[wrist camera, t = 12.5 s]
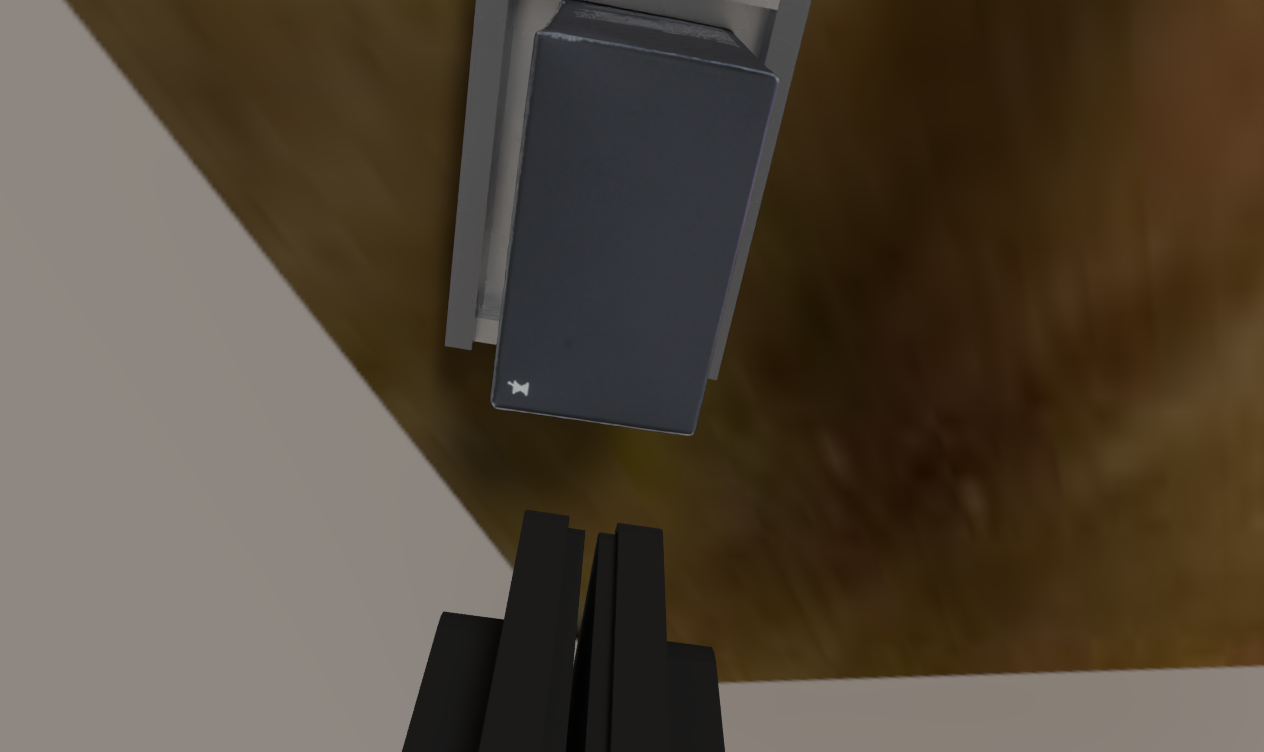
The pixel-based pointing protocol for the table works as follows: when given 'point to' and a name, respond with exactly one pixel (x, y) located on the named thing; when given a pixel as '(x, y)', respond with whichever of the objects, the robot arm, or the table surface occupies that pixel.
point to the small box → (627, 215)
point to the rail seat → (498, 82)
